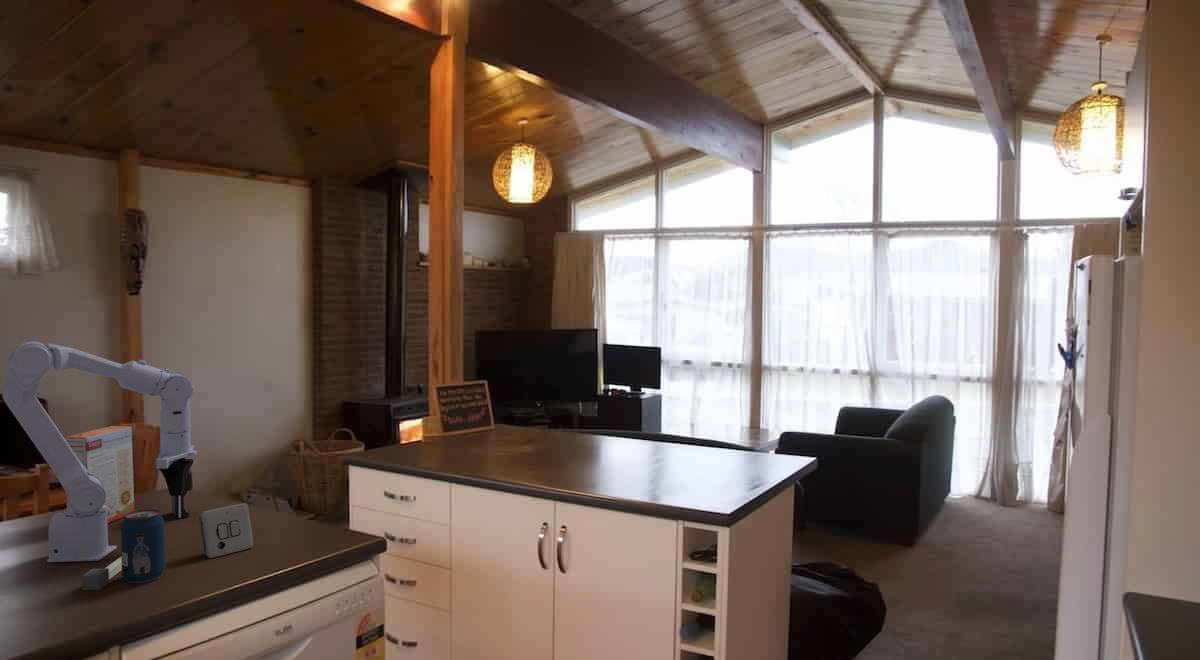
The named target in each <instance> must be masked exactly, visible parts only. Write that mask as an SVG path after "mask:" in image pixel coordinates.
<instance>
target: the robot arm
mask: <svg viewBox="0 0 1200 660" xmlns="http://www.w3.org/2000/svg"><path fill="white" fill-rule="evenodd" d="M6 363H7V364H6V369H5V376H4V383H3V388H2V389H3V390H2V399H3V402H4V403H5V404H6V406H7V408H8V409H9V411H11V413H12V415H13V416H14V417H15V418H16V420H17V421H18V423H19V424H20V426H21V428H22V429H23V430H24V432H25V434H27V436H28V437H29V439H30V440H31V441H32V443H33V445H35V447H36V449H37V450H38V452H39V453H40V454H41V456H42V457H43V459H44V460H45V461H46V463H47V464H48V465H49V467H50V469H51V470H52V471H53V473H54V475H55V476H56V477H57V479H58V481H59V483H60V485H61V486H62V488H63V490H64V491H65V494H66V495H67V496H66V498H67V497H68V505H69V506H68V507H67V506H66V509H64V511H61V512H60V511H59V512H56V513H54V514H53V515H52V517H50V521H49V524H48V559H46V562H47V563H64V562H65V563H66V562H67V563H69V562H70V563H71V562H94V561H95V562H96V561H97V562H98V561H100V560H101V559H103V558H105V557H106V556H108V555H109V554H110V553H112V552H113V551H114V550H116V549H117V547H118V545H109V533H108V532H109V531H108V529H109V525H108V524H109V523H108V517H107V506H106V505H104V503H105V501H106V492H105V490H104V488H103V485H102V482H101V480H100V479H99V478H98V477H97V476H95V475H93V474H91V473H89V472H88V471H87V470H86V468H85V467H84V465H83V464H82V463H81V462H80V461H79V459H78V458H77V456H76V455H75V453H74V452H73V450H72V449H71V447H70V446H69V445H68V443H67V442H66V440H65V439H64V438H65V437H64V436H63V435H62V433H61V431H60V429H58V427H57V426H56V424H55V423H54V420H52V418H51V417H50V415H49V414H48V412H47V411H46V409H45V408H44V407H43V405H42V403H41V402H40V401H39V399H38V398H37V396H36V395H35V394H36V392H37V389H38V387H39V384H40V381H41V380H42V379H43V377H44V376H45V375H46V374H47V373H48V372H49V371H50V369H51V368H52V366H53V368H54V370H55V371H61V370H67V369H76V370H80V371H84V372H88V373H93V374H96V375H99V376H104V377H108V378H112V379H115V380H116V381H117V383H118V385H119V386H120V388H122V389H126V390H129V391H133V392H137V393H140V394H143V395H147V396H151V397H157V396H160V408H159V435H160V436H159V438H160V439H159V444H160V445H159V447H160V448H159V451H160V452H159V453H158V458H156V459H155V460H156V462H155V465H156V467H155V468H156V469H157V470H159V471H160V473H161V474H162V475H163V478H164V480H165V483H166V486H167V489H168V492H169V495H170V497H172V496H181V495H182V494H183V492H184V488H185V483H186V479H187V475H188V472H189V470H191V468H192V466H193V464H194V459H193V458H188V457H190V456H191V457H193V456H197V455H198V451H197V450H195V447H194V446H195V445H194V444H191V443H192V434H191V433H192V432H191V431H192V427H191V425H192V422H191V421H192V420H191V417H192V415H191V414H192V413H191V408H190V405H191V400H190V398H191V397H192V395H193V392H194V388H193V386H192V383H191V381H190V380H189V379H188V378H187V377H185V376H184V375H182V374H178V372H175V371H171V369H169V368H164V369H161V368H159V367H155V366H152V365H148V364H147V362H146V361H145V360H142V359H138V361H135V360H130V361H128V362H125V363H119V362H116V361H112V360H109V359H106V358H103V357H102V356H101V357H100V356H97V355H94V354H92V353H88V352H86V351H82V350H80V349H76V348H73V347H69V346H64V345H59V344H54V343H48V345H47V344H45V343H44V342H41V341H38V340H26V341H23V342H20V343H19V344H18V345H17V346H16V347H15V348H14V350H13V352H12V353H11V355H10V356H9V358H8V360H7V362H6Z"/></svg>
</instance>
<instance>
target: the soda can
mask: <svg viewBox="0 0 1200 660" xmlns="http://www.w3.org/2000/svg"><path fill="white" fill-rule="evenodd" d="M120 541H121V553H120V554H121V556H122V570H121V575H122V577H123V578H124V580H125V581H126V582H128V583H130V584H142V583H148V582H153V581H155V580H157V579H159V578H160V577H161V576H162V574H163V573H164V571H165V569H166V558H165V557H166V556H165V553H166V552H165V549H166V547H165V542H166V541H165V520H164V517H163V516H162V514H161V511H160V510H158V509H140V510H139V509H138V510H134V512H130V513H127V514H126V515H125V517H124V519H123V520H122V522H121V525H120Z"/></svg>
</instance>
